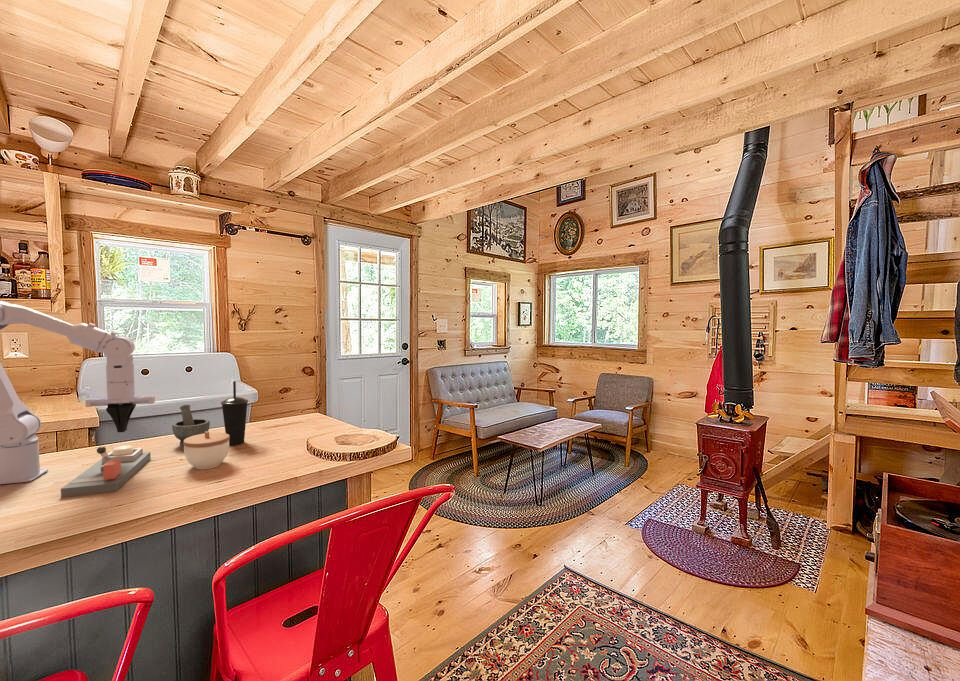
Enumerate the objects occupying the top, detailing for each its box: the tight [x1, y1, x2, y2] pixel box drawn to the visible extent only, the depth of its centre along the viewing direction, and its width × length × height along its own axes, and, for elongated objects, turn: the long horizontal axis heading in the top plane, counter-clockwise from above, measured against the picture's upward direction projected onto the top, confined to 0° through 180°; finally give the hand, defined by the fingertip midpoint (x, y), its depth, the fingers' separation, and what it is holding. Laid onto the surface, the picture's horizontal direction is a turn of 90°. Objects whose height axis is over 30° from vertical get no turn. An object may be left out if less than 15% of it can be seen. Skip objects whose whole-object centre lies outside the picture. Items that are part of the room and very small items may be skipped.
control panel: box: [60, 447, 152, 498], centre depth 111 cm, size 10×24×4 cm, turn 22°
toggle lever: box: [96, 446, 111, 461], centre depth 110 cm, size 2×2×4 cm
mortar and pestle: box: [171, 404, 211, 448], centre depth 138 cm, size 11×9×12 cm
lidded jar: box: [183, 430, 230, 470], centre depth 119 cm, size 11×11×9 cm
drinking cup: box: [220, 380, 249, 446], centre depth 139 cm, size 8×8×20 cm
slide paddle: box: [103, 459, 121, 480], centre depth 104 cm, size 2×4×3 cm, turn 22°
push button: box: [111, 445, 134, 456], centre depth 118 cm, size 4×4×2 cm
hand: (122, 431), depth 118 cm, fingers closed
